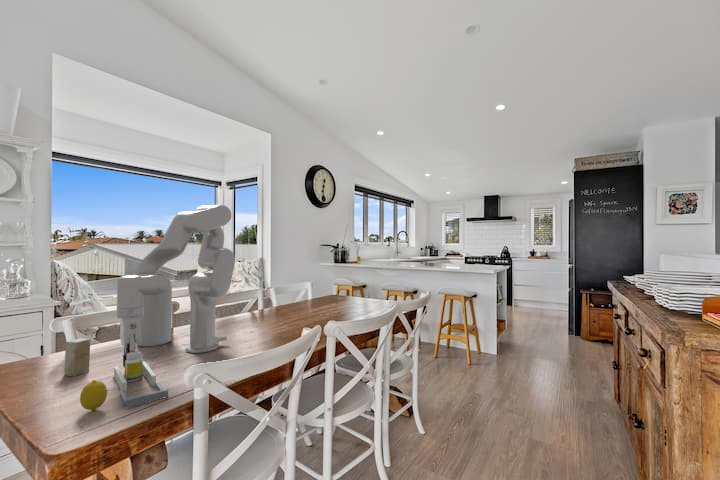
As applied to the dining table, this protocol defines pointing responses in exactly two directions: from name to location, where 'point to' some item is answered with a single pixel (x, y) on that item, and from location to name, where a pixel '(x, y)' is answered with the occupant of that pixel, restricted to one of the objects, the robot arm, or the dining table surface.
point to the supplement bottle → (133, 366)
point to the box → (77, 356)
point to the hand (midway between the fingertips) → (129, 365)
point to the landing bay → (144, 396)
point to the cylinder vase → (156, 319)
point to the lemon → (93, 395)
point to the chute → (145, 370)
